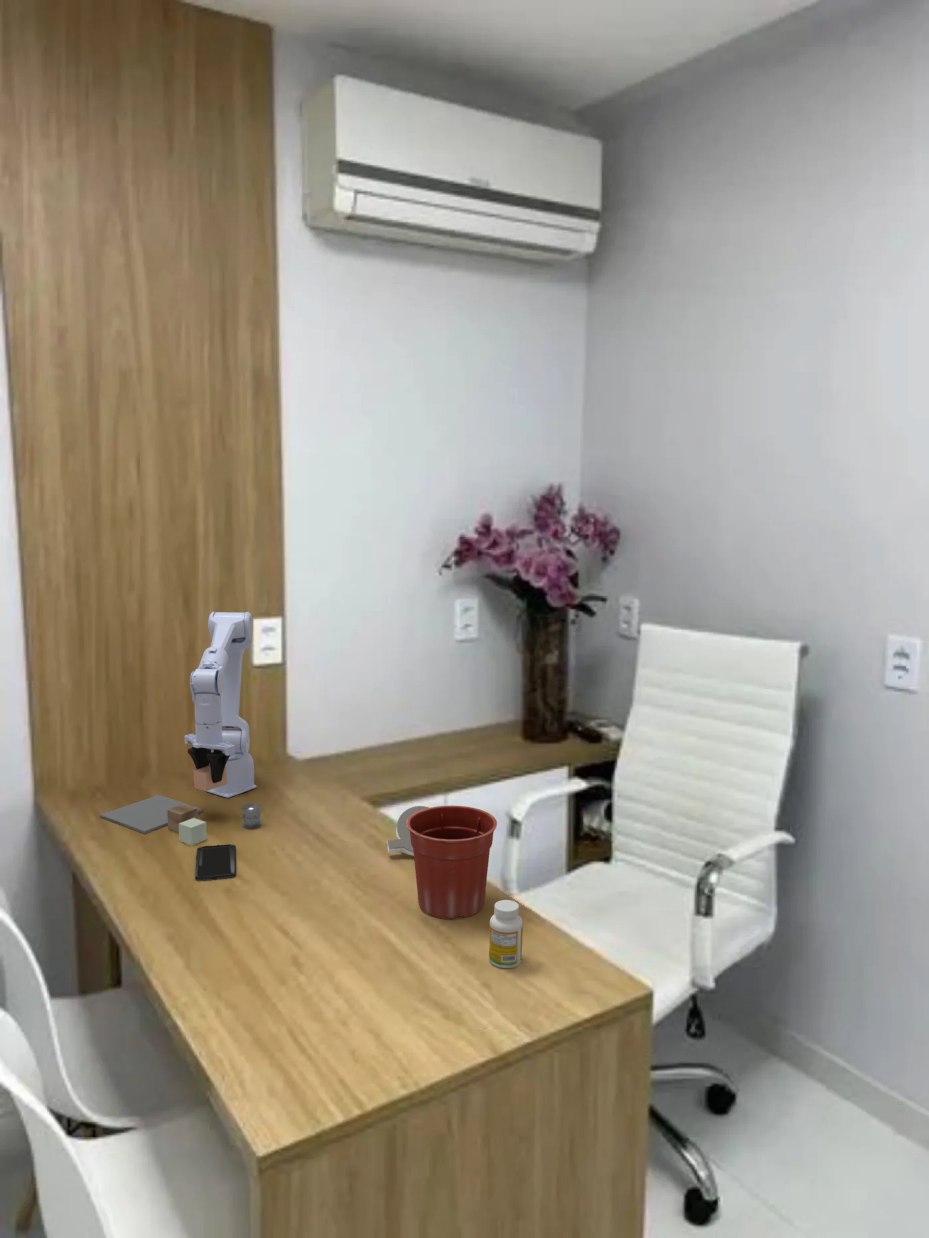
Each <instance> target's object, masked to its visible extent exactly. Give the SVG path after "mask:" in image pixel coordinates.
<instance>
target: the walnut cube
mask: <svg viewBox="0 0 929 1238" xmlns="http://www.w3.org/2000/svg"><path fill="white" fill-rule="evenodd" d="M185 804H186V803H185ZM185 804H183V805H180V806H177V807H174V808H171V809H169V810H167V816H168V825H167V829H168V830H170V831H173V832H175V833H177V832H178V834H179V823H182V822H184V821H187V820H190V819H192V818H196V819H198V818H199V816H198V815H199V814H198V813H197V808H198V807H197V808H195V807H196V806H194V807H192V806H193V805H191V806H188V805H189V804H188V805H185Z"/></svg>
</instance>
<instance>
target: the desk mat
mask: <svg viewBox="0 0 929 1238" xmlns="http://www.w3.org/2000/svg"><path fill="white" fill-rule="evenodd" d="M183 804H185V805H188V806H192V807H195V808H197V813H198V815H199V814H201V813H204V809H203V808H200V807H197V806H194V805H191V804H187V803H185V802H182V801H178V800H176V799H174V798H173V799H172V798H170V797H167V796H163V795H161V794H157V795H153V796H151V797H148V798H146V799H142V800H139V801H137V802H133V803H131V804H128V805H124V806H121V807H118V808H116V809H114V810H111V811H106V812H104V813H101V814H99V817H100V819H101V818H102V819H104V820H106V821H109V822H112V823H114V824H118V825H120V826H122V827H125V828H128V829H130V830H133V831H136V832H139V833H142V834H148V833H151V832H154V831H156V830H159V829H161V828H164V827H168V816H167V810H169V809H171V808H174V807H177V806H180V805H183Z"/></svg>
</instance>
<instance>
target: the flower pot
mask: <svg viewBox="0 0 929 1238" xmlns="http://www.w3.org/2000/svg"><path fill="white" fill-rule="evenodd" d="M406 824H407V828H408V830H409V831H410V838H411V845H412V847H413V852H414V856H413V860H414V870H415V879H416V888H417V889H416V891H417V903H418V905H419V907H420V908H421V910H422V911H423V912H424V913H425V914H427V915H429V916H430V917H434V918H437V919H438V918H439V919H445V920H454V919H456V918H458V917H462V918H463V917H464V918H468V917H471V916H474V915H476V914H477V913H479V912H480V911H481V910H482V909H483V908H484V906H485V900H486V899H485V898H486V891H487V890H486V889H487V879H488V871H489V869H488V868H489V861H490V860H489V859H490V853H491V848H492V846H493V839H494V832H495V830H496V829H497V826H498V821H497V818H495V816H493V815H492V814H491V813H490V812H487V811H485V810H483V809H479V808H476V807H472V806H465V805H464V806H463V805H452V804H451V805H438V806H432V807H429V808H427V809H423V810H420V811H418V812H415V813H414V814H412V815H411V816H410V817H409V818H408V819H407V821H406Z"/></svg>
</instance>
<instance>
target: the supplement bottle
mask: <svg viewBox="0 0 929 1238" xmlns="http://www.w3.org/2000/svg"><path fill="white" fill-rule="evenodd" d="M493 909H494V912H493V913H494V914H493V915H492V916H491V918H490V920H489V935H488V936H489V937H488V938H489V940H488V941H489V942H488V943H489V945H488V948H489V949H488V953H489V954H488V960H489V962H490V964H491V965H493V966H494V967H497V968H500V969H512V968H516V967H517V966H519V965H520V964H521V963H522V960H523V933H524V932H523V930H524V929H523V928H524V927H523V926H524V924H523V923H524V922H523V919H522V917H521V916H520V915H519V914H520V905H519V903H517V902H516V901H514V900H510V899H502V900H499V901H496V902H495V903H494V907H493Z"/></svg>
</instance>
